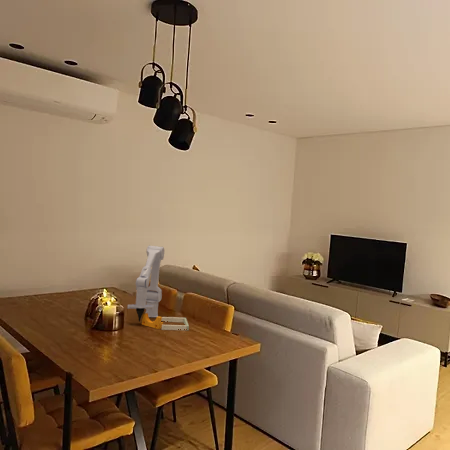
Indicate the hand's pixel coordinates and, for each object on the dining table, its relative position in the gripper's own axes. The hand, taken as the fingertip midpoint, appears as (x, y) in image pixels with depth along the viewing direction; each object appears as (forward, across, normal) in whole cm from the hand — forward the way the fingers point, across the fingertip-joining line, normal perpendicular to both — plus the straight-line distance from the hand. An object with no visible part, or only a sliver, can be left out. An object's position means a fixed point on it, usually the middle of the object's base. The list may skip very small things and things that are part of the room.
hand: (139, 321), depth 247 cm
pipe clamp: (+2, +7, -2) cm, 8 cm away
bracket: (+2, +20, 0) cm, 20 cm away
